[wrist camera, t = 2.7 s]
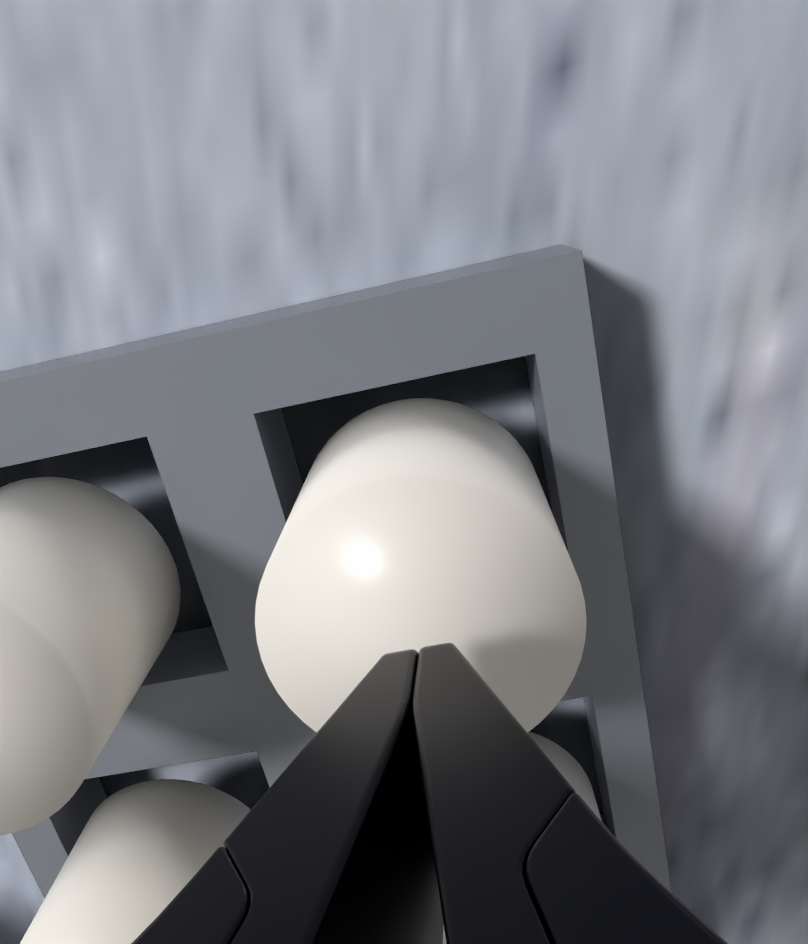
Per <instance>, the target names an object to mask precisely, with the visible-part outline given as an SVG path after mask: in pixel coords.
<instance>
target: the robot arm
mask: <svg viewBox="0 0 808 944" xmlns="http://www.w3.org/2000/svg"><path fill="white" fill-rule="evenodd" d="M223 845H224V847H219V848H217V850H216V851H215V852H214V853H213V854H212V855H211V857H210V858H209V859H208V860H207V861H206V862H205V864H204V865H203V866H202V867H201V868H200V869H199V871H198V872H197V873H196V874H195V875H194V876H193V878H192V879H191V880H190V881H189V882H188V883H187V884H186V885H185V886H184V888H183V889H182V890H181V891H180V892H179V893H178V894H177V895H176V897H175V898H174V899H173V900H172V901H171V902H170V903H169V904H168V905H167V907H166V908H165V909H164V910H163V911H162V912H161V913H160V914H159V916H158V917H157V918H156V919H155V920H154V921H153V922H152V923H151V924H150V925H149V926H148V927H147V928H146V929H145V930H144V931H143V932H142V933H141V934H140V935H139V936H138V937H137V938H136V939H135V940H134V941H133V942H132V943H131V944H443V924H444V930H445V937H446V944H727V943H726V942H725V941H724V940H723V939H722V938H721V937H720V936H719V935H718V934H716V933H715V932H714V931H713V930H712V929H711V928H710V927H709V926H708V925H706V924H705V923H704V922H703V921H702V920H701V919H700V918H699V917H698V916H697V915H695V914H694V913H693V912H692V911H691V910H690V909H689V908H688V907H687V906H686V905H684V904H683V903H682V902H681V901H680V900H679V899H678V898H677V897H676V896H674V895H673V894H672V893H671V892H670V891H669V890H668V889H667V888H666V887H665V886H664V885H663V884H662V883H661V882H660V881H659V880H658V879H656V878H655V877H654V876H653V875H652V874H651V873H650V872H649V871H648V870H647V869H646V868H645V867H644V866H643V865H642V864H641V863H640V862H639V861H638V860H637V859H636V858H635V857H634V856H633V855H632V854H630V853H629V851H628V850H627V849H626V848H625V847H624V846H623V845H622V844H621V843H620V841H619V840H618V839H617V838H616V837H615V836H614V835H613V834H612V833H611V831H610V830H609V829H608V828H607V827H606V826H605V825H604V824H603V823H602V821H601V820H600V819H599V818H598V817H597V816H596V815H595V813H594V812H593V811H592V810H591V808H590V807H589V806H588V805H587V804H586V802H585V801H584V800H583V799H582V798H581V796H580V795H578V794H576V792H575V790H574V789H573V787H572V786H571V785H570V784H569V782H568V781H567V780H566V779H565V778H564V776H563V775H562V774H561V773H560V772H559V770H558V769H557V768H556V767H555V766H554V764H553V763H552V762H551V761H550V760H549V758H548V757H547V756H546V755H545V753H544V752H543V751H542V750H541V749H540V747H539V746H538V745H537V744H536V743H535V741H534V740H533V739H532V738H531V737H530V735H529V734H528V733H527V732H526V731H525V729H524V728H523V727H522V726H521V724H520V723H519V722H518V721H517V720H516V718H515V717H514V716H513V715H512V714H511V712H510V711H509V710H508V709H507V708H506V706H505V705H504V704H503V703H502V701H501V700H500V699H499V698H498V697H497V695H496V694H495V693H494V692H493V691H492V689H491V688H490V687H489V686H488V685H487V683H486V682H485V681H484V680H483V679H482V677H481V676H480V675H479V674H478V672H477V671H476V670H475V669H474V668H473V666H472V665H471V664H470V663H469V662H468V660H467V659H466V658H465V657H464V656H463V654H462V653H461V652H460V651H459V650H458V648H457V647H456V646H455V645H454V644H452V643H443V644H438V645H432V646H426V647H423V648H421V649H420V651H419V653H418V652H417V650H414V649H409V650H404V651H398V652H392V653H387V654H385V655H383V656H382V657H381V658H380V659H379V660H378V662H377V663H376V664H375V665H374V666H373V667H372V669H371V670H370V671H369V672H368V673H367V674H366V676H365V677H364V678H363V679H362V680H361V681H360V683H359V684H358V685H357V686H356V687H355V688H354V690H353V691H352V692H351V693H350V694H349V695H348V697H347V698H346V699H345V700H344V701H343V703H342V704H341V705H340V706H339V707H338V708H337V710H336V711H335V712H334V713H333V714H332V715H331V717H330V718H329V719H328V720H327V721H326V722H325V724H324V725H323V726H322V727H321V728H320V729H319V731H318V732H317V733H316V734H315V735H314V736H313V738H312V739H311V740H310V741H309V742H308V743H307V745H306V746H305V747H304V748H303V749H302V751H301V752H300V753H299V754H298V755H297V756H296V758H295V759H294V760H293V761H292V762H291V763H290V765H289V766H288V767H287V768H286V769H285V770H284V772H283V773H282V774H281V775H280V776H279V777H278V779H277V780H276V781H275V782H274V783H273V784H272V786H271V787H270V788H269V789H268V790H267V791H266V793H265V794H264V795H263V796H262V797H261V798H260V800H259V801H258V802H257V803H256V804H255V806H254V807H253V808H252V809H251V810H250V811H249V813H248V814H247V815H246V816H245V817H244V818H243V820H242V821H241V822H240V823H239V824H238V825H237V827H236V828H235V829H234V830H233V831H232V832H231V834H230V835H229V836H228V837H227V838H226V839H225V841H224V843H223Z"/></svg>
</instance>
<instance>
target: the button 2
mask: <svg viewBox="0 0 808 944" xmlns="http://www.w3.org/2000/svg"><path fill="white" fill-rule="evenodd" d="M250 810H251V809H250V808H249V807H247V806H246V805H245V804H243V803H242V802H240V801H239V800H238V799H236V798H234V797H232V796H231V795H229V794H227V793H225V792H223V791H221V790H218V789H216V788H213V787H210V786H207V785H204V784H201V783H196V782H191V781H185V780H176V779H160V780H151V781H145V782H141V783H136V784H134V785H131V786H128V787H125V788H123V789H121V790H119V791H117V792H115V793H114V794H112V795H111V796H109V797H108V798H107V799H105V800H104V801H103V802H102V803H101V804H100V805H99V806H98V807H97V808H96V810H95V811H94V812H93V814H92V815H91V817H90V818H89V820H88V822H87V824H86V826H85V827H84V829H83V831H82V833H81V835H80V836H79V838H78V840H77V842H76V844H75V845H74V847H73V849H72V851H71V853H70V854H69V856H68V858H67V860H66V861H65V863H64V865H63V867H62V869H61V870H60V872H59V874H58V876H57V878H56V879H55V881H54V883H53V885H52V887H51V888H50V890H49V892H48V894H47V896H46V897H45V899H44V901H43V903H42V905H41V906H40V908H39V910H38V912H37V914H36V915H35V917H34V919H33V921H32V923H31V924H30V926H29V928H28V930H27V932H26V933H25V935H24V937H23V939H22V941H21V942H20V944H131V943H132V942H133V941H134V940H135V939H136V938H137V937H138V936H139V935H140V934H141V933H142V932H143V931H144V930H145V929H146V928H147V927H148V926H149V925H150V924H151V923H152V922H153V921H154V920H155V919H156V918H157V917H158V916H159V914H160V913H161V912H162V911H163V910H164V909H165V908H166V907H167V905H168V904H169V903H170V902H171V901H172V900H173V899H174V898H175V897H176V895H177V894H178V893H179V892H180V891H181V890H182V889H183V888H184V886H185V885H186V884H187V883H188V882H189V881H190V880H191V879H192V878H193V876H194V875H195V874H196V873H197V872H198V871H199V869H200V868H201V867H202V866H203V865H204V864H205V862H206V861H207V860H208V859H209V858H210V857H211V855H212V854H213V853H214V852H215V851H216V850H217V848H219V847H224V845H223V843H224V841H225V839H226V838H227V837H228V836H229V835H230V834H231V832H232V831H233V830H234V829H235V828H236V827H237V825H238V824H239V823H240V822H241V821H242V820H243V818H244V817H245V816H246V815H247V814H248V813H249V811H250Z"/></svg>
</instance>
